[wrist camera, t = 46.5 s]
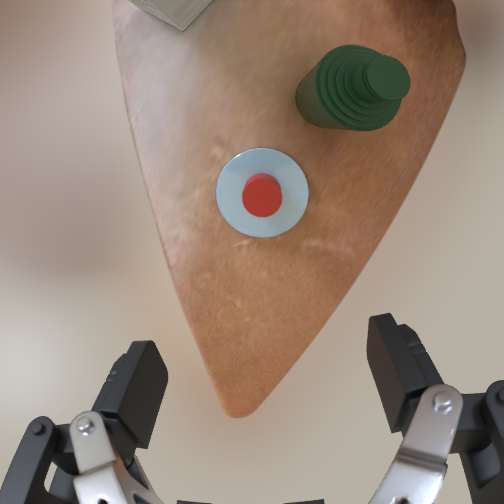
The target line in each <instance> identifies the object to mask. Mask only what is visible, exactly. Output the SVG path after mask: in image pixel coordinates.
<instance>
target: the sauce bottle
mask: <svg viewBox="0 0 504 504" xmlns="http://www.w3.org/2000/svg"><path fill="white" fill-rule="evenodd" d="M409 88H410V77H409V74H408V71H407V69H406V68H405V66H404V65H403V64H402V63H401V62H400V61H398V60H397V59H395V58H393V57H391V56H387V55H381V54H380V53H378V52H376V51H375V50H372V49H370V48H368V47H365V46H360V45H344V46H340V47H337V48H335V49H333V50H331V51H330V52H328V53H327V54H326V55H325V56H324V57H323V58H322V59H321V60H320V61H319V62H318V63H317V65H316V66H315V67H314V68H313V69H312V70H311V71H310V72H309V73H308V74H307V75H306V76H305V77H304V79H303V80H302V81H301V82H300V84H299V85H298V88H297V91H296V103H297V107H298V109H299V111H300V113H301V114H302V116H303V117H304V118H305V119H306V120H307V121H309V122H310V123H312V124H314V125H316V126H319V127H323V128H335V129H346V130H356V131H372V130H376V129H379V128H381V127H383V126H385V125H386V124H388V123H389V122H390V121H391V120H392V119H393V118H394V116H395V115H396V113H397V111H398V109H399V107H400V104H401V100H402V98H403V97H405V96H406V94H407V93H408V91H409Z"/></svg>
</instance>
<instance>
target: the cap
mask: <svg viewBox="0 0 504 504" xmlns="http://www.w3.org/2000/svg"><path fill="white" fill-rule="evenodd" d="M282 200H283V198H282V192H281V187H280V184H279V183H278V181H277V180H276V179H275V178H274V176H271V175H269V174H265V173H259V174H254V175H253V176H252V177H250V178H249V179H248V180H247V181H246V184H245V187H244V189H243V192H242V202H243V205H244V207H245V209H246V210H247V211H248V212H249V213H250V214H252V215H254V216H256V217H268V216H271V215H273V214H275V213H276V212H277V211H278V210H279V208H280V206H281V204H282Z"/></svg>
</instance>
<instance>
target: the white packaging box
mask: <svg viewBox="0 0 504 504" xmlns="http://www.w3.org/2000/svg"><path fill="white" fill-rule="evenodd" d="M129 1H130V2H131V3H133V4H134V5H135V6H137V7H138V8H140V9H142V10H144V11H146V12H148V13H150V14H152V15H154V16H156V17H158V18H160V19H161V20H163V21H165V22H167V23H169V24H171V25H172V26H174V27H176V28H178V29H179V30H181V31H184V30H185V29H186V28H187V27H188V26H189V24H190V23H191V22H192V21H193V20H194V19H195V18H196V17H197V16H198V15H199V14H200V13H201V12H202V11H203V10H204V9H205V8H206V7H207V6H208V5H209V4H210V3H211V2H212V1H213V0H129Z"/></svg>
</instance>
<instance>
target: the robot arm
mask: <svg viewBox="0 0 504 504" xmlns="http://www.w3.org/2000/svg"><path fill="white" fill-rule="evenodd" d="M367 359H368V363H369V366H370V369H371V372H372V374H373V378H374V380H375V383H376V386H377V389H378V392H379V395H380V398H381V401H382V404H383V408H384V411H385V414H386V417H387V420H388V423H389V427H390V430H391V433H395V432H399V431H401V432H402V435H403V438H404V439H403V441H402V443H401V445H400V447H399V449H398V451H397V453H396V455H395V457H394V459H393V461H392V463H391V465H390V467H389V469H388V471H387V473H386V474H385V476H384V478H383V480H382V482H381V483H380V485H379V487H378V489H377V490H376V492H375V494H374V495H373V497H372V498H371V500H370V501H369V503H368V504H433V503H434V501H435V499H436V497H437V494H438V492H439V490H440V487H441V485H442V483H443V480H444V478H445V475H446V472H447V467H448V465H447V464H446V461H447V457H448V455H449V454H453V453H459V455H460V458H461V461H462V465H463V468H464V472H465V475H466V479H467V483H468V487H469V490H470V495H471V499H472V503H473V504H504V380H500V381H496V382H494V383H492V384H491V385H490V386H489V387H488V389H487V391H486V393H475V394H460V392H459V391H458V390H457V389H456V388H454V387H452V386H450V385H446V384H444V382H443V380H442V379H441V377H440V375H439V373H438V372H437V369H436V367H435V366H434V364H433V362H432V360H431V358H430V356H429V355H428V353H427V352H426V349H425V347H424V346H423V344H421V341H420V339H419V337H418V335H417V334H416V332H415V331H414V330H413V329H411V328H410V327H408V326H407V325H406V324H402V325H397V323H396V322H395V320H394V318H393V316H392V315H391V314H390V313H386V314H381V315H376V316H371V317H370V318H369V326H368V338H367ZM167 383H168V371H167V368H166V366H165V364H164V362H163V360H162V357H161V355H160V353H159V351H158V349H157V348H156V345H155V343H154V342H153V341H150V340H149V341H133V342H132V344H131V346H130V348H129V350H128V352H127V353H126V354H123V355H122V356H121V357H120V358H119V359H118V360H117V361H116V362H115V363H114V365H113V367H112V369H111V371H110V374H109V375H108V377H107V379H106V382H105V383H104V385H103V387H102V389H101V391H100V393H99V395H98V397H97V399H96V401H95V403H94V405H93V407H92V409H91V411H85V412H82V413H80V414H78V415H77V416H76V417H75V418H74V419H73V420H72V422H71V424H62V425H55V424H54V423H53V422H52V420H51V419H49V418H48V417H46V416H41V417H37V418H36V419H34V420H33V421H32V422H31V423H30V424H29V426H28V427H27V430H26V432H25V434H24V436H23V438H22V440H21V442H20V444H19V447H18V449H17V451H16V453H15V455H14V458H13V460H12V462H11V464H10V467H9V469H8V472H7V474H6V477H5V479H4V482H3V484H2V487H1V490H0V504H164V503H163V501H162V500H161V499H160V498H159V497H158V496H157V494H156V493H155V491H154V490H153V488H152V486H151V484H150V482H149V480H148V478H147V476H146V474H145V473H144V471H143V468H142V466H141V465H140V463H139V460H138V458H137V456H136V455H135V454H134V453H135V450H136V448H144V449H148V445H149V442H150V438H151V435H152V431H153V428H154V425H155V422H156V418H157V415H158V412H159V409H160V405H161V402H162V399H163V396H164V392H165V389H166V386H167ZM51 462H53V463H54V464H55V465H57V469H56V472H55V475H54V478H53V480H52V483H51V486H50V489H49V492H47V491H46V489H45V487H44V481H45V478H46V475H47V472H48V469H49V467H50V464H51ZM177 504H211V503H199V502H188V501H179V500H177ZM285 504H324V499H321V500H314V501H305V502H295V503H285Z"/></svg>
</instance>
